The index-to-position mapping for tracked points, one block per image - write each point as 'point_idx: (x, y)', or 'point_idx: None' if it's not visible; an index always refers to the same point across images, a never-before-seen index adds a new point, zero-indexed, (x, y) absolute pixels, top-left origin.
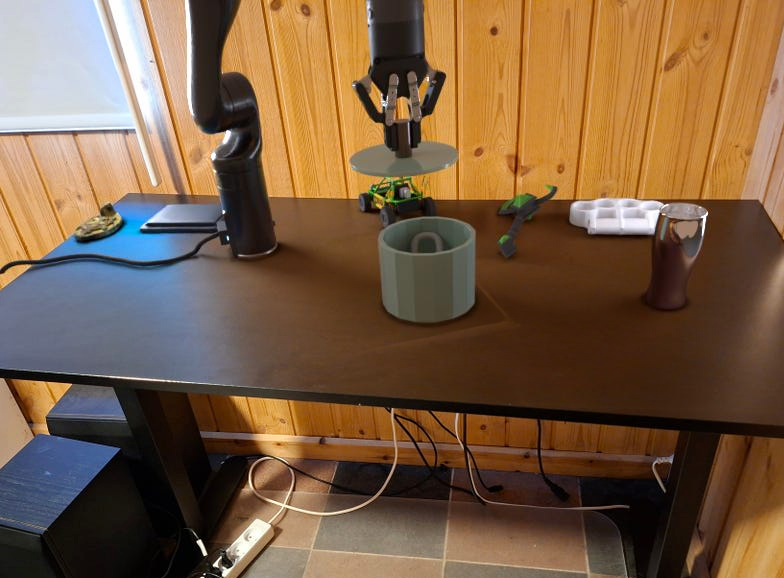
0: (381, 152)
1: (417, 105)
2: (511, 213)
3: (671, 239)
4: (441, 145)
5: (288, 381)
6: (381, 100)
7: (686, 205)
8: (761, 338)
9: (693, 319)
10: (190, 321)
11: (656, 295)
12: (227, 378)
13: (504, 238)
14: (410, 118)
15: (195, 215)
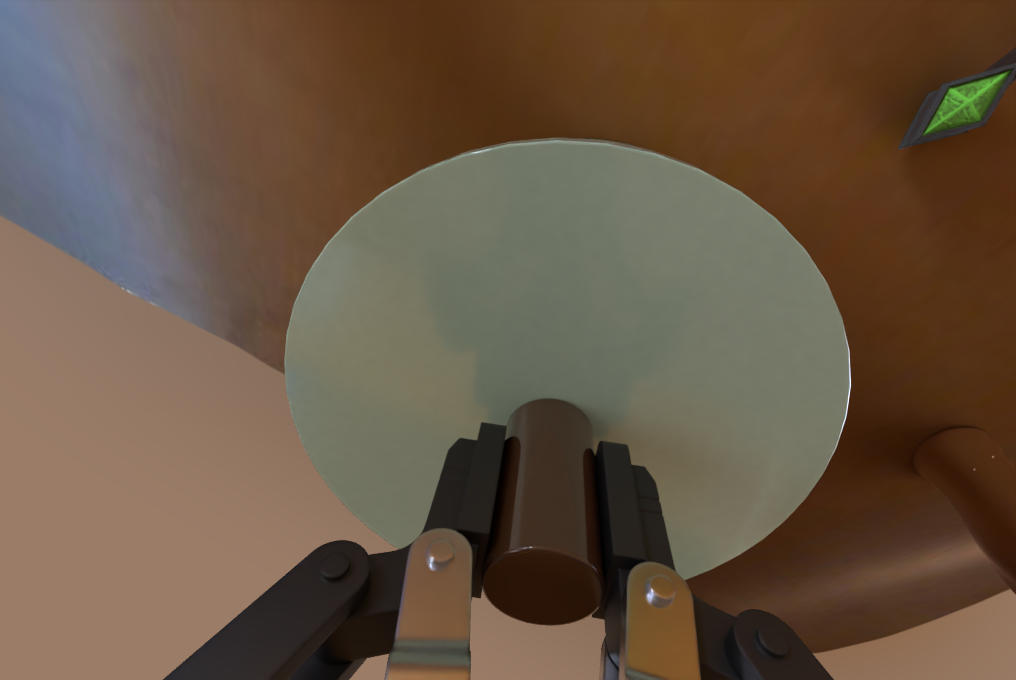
0: (474, 319)
1: None
2: None
3: (1013, 588)
4: (809, 406)
5: (279, 357)
6: (386, 677)
7: None
8: (926, 563)
9: (915, 503)
10: (45, 46)
11: (929, 473)
12: (182, 306)
13: (960, 113)
14: (615, 594)
15: None
